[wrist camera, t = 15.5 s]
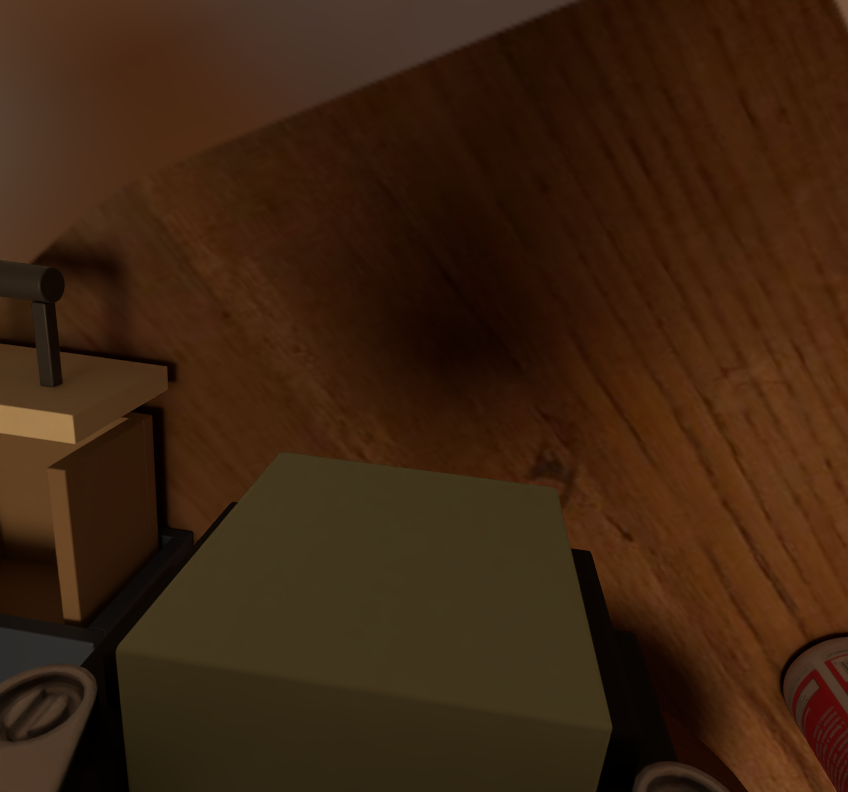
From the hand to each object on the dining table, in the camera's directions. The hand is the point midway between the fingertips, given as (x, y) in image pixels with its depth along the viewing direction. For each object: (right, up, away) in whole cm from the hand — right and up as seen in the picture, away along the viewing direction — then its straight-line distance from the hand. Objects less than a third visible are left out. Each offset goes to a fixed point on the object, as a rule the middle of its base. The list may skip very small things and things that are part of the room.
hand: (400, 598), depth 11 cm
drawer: (-17, +2, +19) cm, 26 cm away
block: (0, 0, 0) cm, 0 cm away
